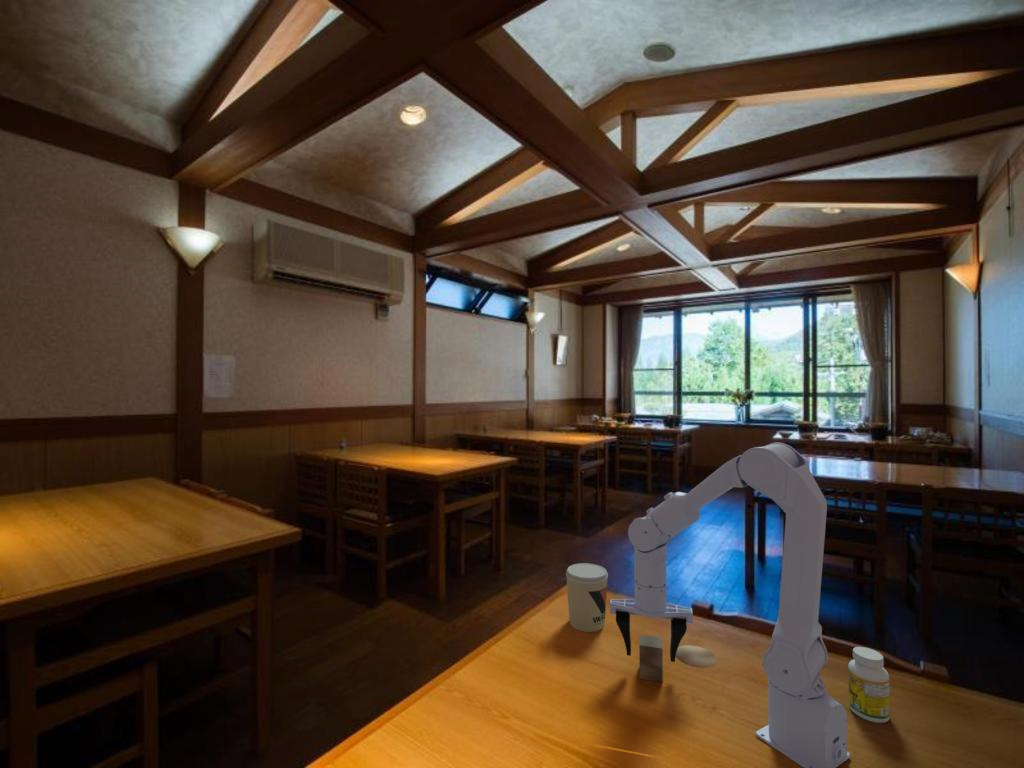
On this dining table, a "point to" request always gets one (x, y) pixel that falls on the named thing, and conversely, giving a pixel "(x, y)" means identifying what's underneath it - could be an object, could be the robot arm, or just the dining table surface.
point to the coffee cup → (587, 596)
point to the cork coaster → (695, 656)
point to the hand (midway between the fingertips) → (650, 655)
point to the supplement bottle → (868, 685)
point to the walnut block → (651, 658)
